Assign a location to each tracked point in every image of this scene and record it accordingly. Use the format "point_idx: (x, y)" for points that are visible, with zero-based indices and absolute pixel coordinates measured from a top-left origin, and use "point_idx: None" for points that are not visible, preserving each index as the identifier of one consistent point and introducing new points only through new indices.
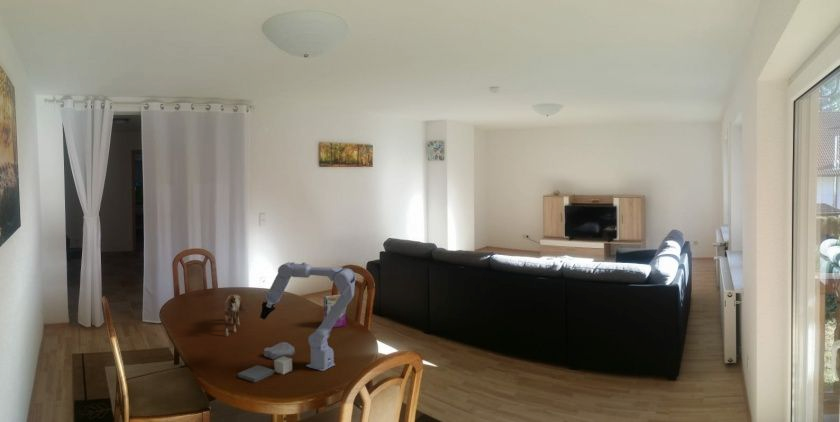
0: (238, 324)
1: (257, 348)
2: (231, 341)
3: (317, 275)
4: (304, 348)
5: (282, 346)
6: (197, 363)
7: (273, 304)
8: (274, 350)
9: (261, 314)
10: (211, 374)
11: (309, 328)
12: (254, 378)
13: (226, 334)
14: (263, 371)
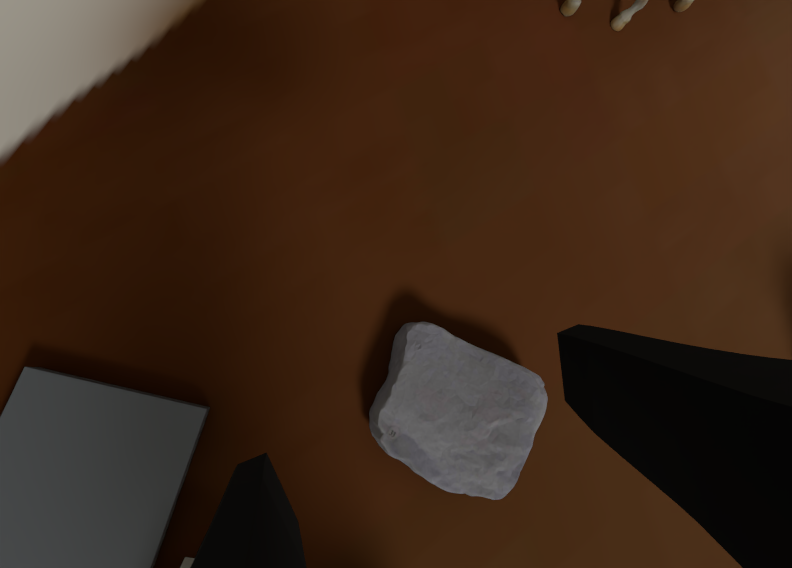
0: (680, 4)
1: (484, 231)
2: (518, 60)
3: None
4: (572, 493)
5: (485, 421)
6: (201, 28)
7: (740, 550)
8: (416, 405)
9: (215, 538)
10: (50, 179)
11: (786, 344)
12: None
13: (566, 4)
14: (97, 529)
